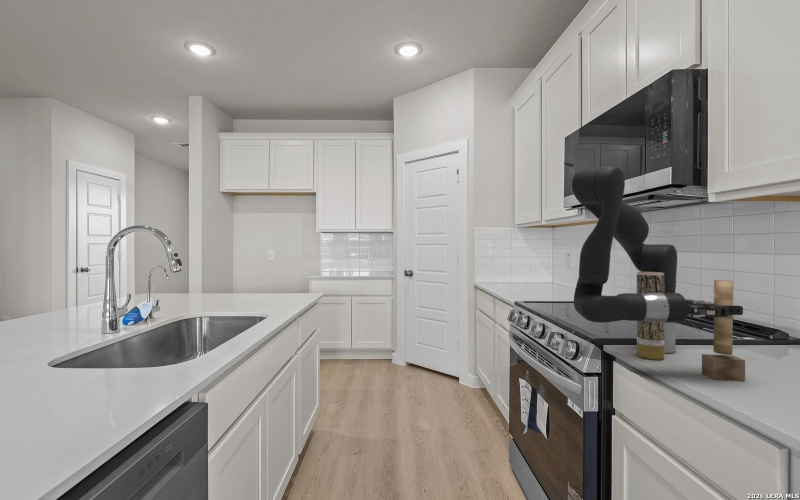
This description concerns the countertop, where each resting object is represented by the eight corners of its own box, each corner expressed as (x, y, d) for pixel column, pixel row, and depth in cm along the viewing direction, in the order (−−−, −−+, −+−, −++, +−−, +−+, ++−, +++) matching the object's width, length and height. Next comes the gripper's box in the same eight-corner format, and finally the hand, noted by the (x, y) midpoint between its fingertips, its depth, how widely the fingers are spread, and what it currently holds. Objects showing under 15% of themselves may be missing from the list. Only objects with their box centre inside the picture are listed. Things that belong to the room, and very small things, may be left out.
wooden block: (712, 379, 94) (712, 359, 94) (701, 373, 98) (701, 354, 98) (745, 380, 93) (745, 360, 93) (732, 374, 97) (732, 355, 97)
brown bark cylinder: (668, 361, 109) (668, 273, 108) (642, 359, 110) (642, 273, 110) (657, 354, 115) (657, 271, 115) (633, 353, 117) (632, 271, 116)
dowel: (710, 350, 97) (710, 280, 97) (726, 351, 97) (726, 280, 97) (719, 354, 94) (720, 281, 94) (736, 355, 93) (736, 281, 93)
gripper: (675, 296, 91) (757, 297, 88) (646, 289, 104) (717, 290, 102) (674, 328, 91) (757, 330, 88) (646, 317, 105) (717, 318, 102)
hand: (735, 309), depth 95 cm, fingers closed on dowel, 3 cm apart
